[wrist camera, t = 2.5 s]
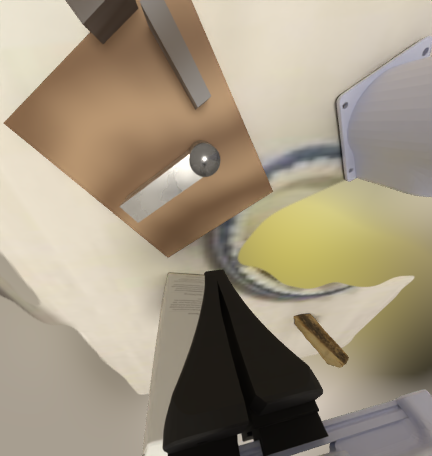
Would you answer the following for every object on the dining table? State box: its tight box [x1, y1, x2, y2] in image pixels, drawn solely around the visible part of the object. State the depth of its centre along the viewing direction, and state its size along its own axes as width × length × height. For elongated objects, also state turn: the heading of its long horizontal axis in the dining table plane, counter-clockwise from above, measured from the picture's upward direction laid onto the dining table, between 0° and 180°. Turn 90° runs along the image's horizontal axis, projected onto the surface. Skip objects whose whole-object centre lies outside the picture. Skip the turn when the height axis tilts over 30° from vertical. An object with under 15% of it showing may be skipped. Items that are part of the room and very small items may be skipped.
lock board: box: [4, 0, 273, 257], centre depth 14 cm, size 17×15×4 cm
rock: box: [294, 314, 349, 368], centre depth 38 cm, size 11×9×10 cm
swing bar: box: [120, 140, 220, 223], centre depth 14 cm, size 9×2×3 cm, turn 122°
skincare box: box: [142, 273, 205, 456], centre depth 20 cm, size 8×7×16 cm
